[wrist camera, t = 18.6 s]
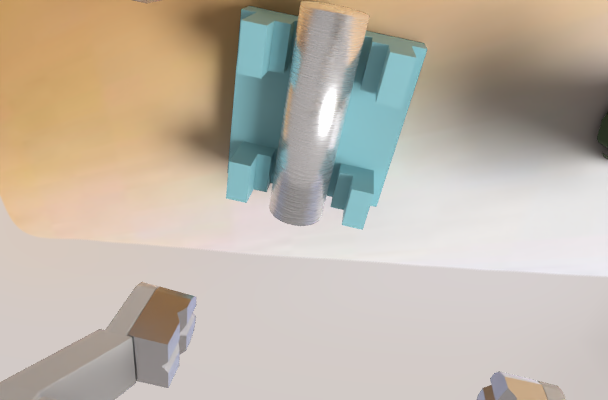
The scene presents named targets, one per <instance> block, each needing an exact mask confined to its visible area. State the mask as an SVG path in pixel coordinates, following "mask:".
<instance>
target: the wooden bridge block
mask: <svg viewBox="0 0 608 400" xmlns="http://www.w3.org/2000/svg"><path fill="white" fill-rule="evenodd" d="M134 1H138V2H143V3H151V2H156V1H160V0H134Z"/></svg>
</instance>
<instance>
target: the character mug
mask: <svg viewBox="0 0 608 400" xmlns="http://www.w3.org/2000/svg"><path fill="white" fill-rule="evenodd" d="M597 139H598V142H599V143H601V144H602V145H604V146H605V147H607V148H608V113H607V114H606V115H605V117H604V118H603V119H602V122H601V125H600V129H599V132H598V136H597ZM602 154H603V156H604V157H605V158H606V159H608V156H607V155H605V154H604V153H602Z"/></svg>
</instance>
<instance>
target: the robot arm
mask: <svg viewBox="0 0 608 400" xmlns="http://www.w3.org/2000/svg"><path fill="white" fill-rule="evenodd" d="M195 307H196V297H195V296H192V295H188V294H184V293H181V292H177V291H173V290H170V289H166V288H163V287H159V286H155V285H151V284H147V283H143V282H141V283H140V284H138V285H137V286H136V287H135V288H134V290H133V291H132V293H131V294H130V296H129V297H128V298H127V300H126V302H125V303H124V304H123V306H122V307H121V309H120V310H119V311H118V313H117V314H116V316H115V317H114V319H113V320H112V321H111V323H110V324H109V326H108V327H107V329H106V330H102V329H99V330H97V331H95V332H93V333H91V334H89V335H88V336H86V337H84V338H82V339H80V340H78V341H77V342H74V343H73V344H71V345H69V346H67V347H65V348H63V349H61V350H60V351H58V352H56V353H54V354H52V355H50V356H48V357H47V358H45V359H43V360H41V361H39V362H37V363H35V364H33V365H31V366H30V367H28V368H26V369H24V370H22V371H20V372H18V373H16V374H15V375H13V376H11V377H9V378H7V379H5V380H3V381H2V382H0V400H115V399H116V398H117V397H118V396H120V395H121V394H123V393H124V392H125V391H126V390H128V389H129V388H130V387H132V386H133V385H134V384H135V383H136V381H139V382H144V383H148V384H153V385H157V386H162V387H166V388H168V387H169V386H170V383H171V381H172V379H173V377H174V375H175V373H176V371H177V369H178V367H179V355H180V354H181V353H183V352H184V351H186V349H187V347H188V345H189V343H190V340H191V337H192V334H193V331H194V327H195V319H196V316H195V315H194V313H193V311H194V309H195ZM490 380H491V384H492V385H490V386H487V387H485V388H483V389H482V390H481V391H480V393H479V394H478V397H477V400H566V399H565V396H564V394H563V392H562V390H561V389H560V388H559V387H558V386H556V385H552V384H548V383H544V382H540V381H536V380H534V379H529V378H525V377H521V376H516V375H512V374H508V373H504V372H497V373H494V375H493V376H492V377H491V378H490Z"/></svg>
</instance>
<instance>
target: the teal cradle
mask: <svg viewBox="0 0 608 400" xmlns="http://www.w3.org/2000/svg"><path fill="white" fill-rule="evenodd" d="M297 23H298V16H295V15H290V14H285V13H281V12H276V11H271V10H267V9H262V8H257V7H253V6H248V7H245V8H243V9H241V18H240V30H239V42H238V54H237V66H236V78H235V90H234V102H233V114H232V126H231V138H230V150H229V162H228V182H227V194H226V198H228V199H232V200H236V201H241V202H245V203H247V201H248V199H249V197H250V195H251V193H252V191H253V189H255V190H259V191H264V192H267V189H268V187H269V185H270V183H273V179H274V173H275V166H276V159H277V153H278V146H279V140H280V133H281V127H282V120H283V114H284V107H285V101H286V94H287V88H288V81H289V75H290V68H291V62H292V55H293V49H294V42H295V36H296V29H297ZM426 52H427V47H426V46H425V44H424V43H421V42H416V41H411V40H407V39H402V38H397V37H393V36H388V35H383V34H379V33H374V32H369V31H366V33H365V37H364V41H363V46H362V50H361V54H360V58H359V62H358V66H357V71H356V75H355V79H354V83H353V87H352V91H351V96H350V100H349V104H348V108H347V112H346V116H345V121H344V125H343V129H342V133H341V137H340V141H339V145H338V150H337V154H336V158H335V162H334V166H333V170H332V175H331V179H330V183H329V187H328V191H327V196H331V197H332V203H331V207H333V208H338V209H342V210H344V212H343V220H342V225H345V226H349V227H353V228H358V229H362V230H363V227H364V224H365V220H366V217H367V214H368V211H369V208H370V206H375V207H376V206H377V203H378V200H379V197H380V194H381V191H382V188H383V184H384V181H385V178H386V175H387V172H388V169H389V166H390V163H391V160H392V157H393V154H394V151H395V147H396V144H397V141H398V138H399V135H400V132H401V129H402V126H403V123H404V120H405V117H406V114H407V111H408V107H409V104H410V101H411V98H412V95H413V92H414V89H415V86H416V83H417V80H418V77H419V74H420V71H421V67H422V64H423V61H424V58H425V55H426Z"/></svg>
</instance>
